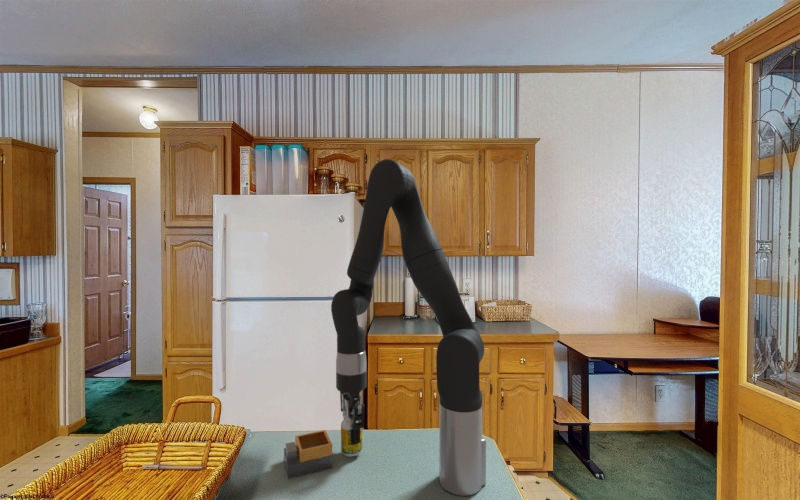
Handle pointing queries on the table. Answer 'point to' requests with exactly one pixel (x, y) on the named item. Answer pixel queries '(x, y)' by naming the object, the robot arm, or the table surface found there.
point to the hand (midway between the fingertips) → (351, 436)
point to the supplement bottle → (349, 438)
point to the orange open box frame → (308, 454)
